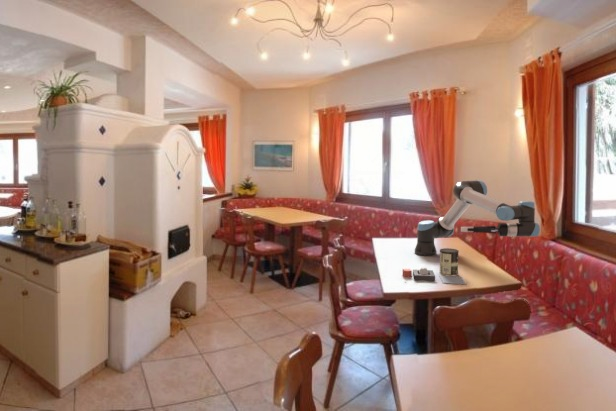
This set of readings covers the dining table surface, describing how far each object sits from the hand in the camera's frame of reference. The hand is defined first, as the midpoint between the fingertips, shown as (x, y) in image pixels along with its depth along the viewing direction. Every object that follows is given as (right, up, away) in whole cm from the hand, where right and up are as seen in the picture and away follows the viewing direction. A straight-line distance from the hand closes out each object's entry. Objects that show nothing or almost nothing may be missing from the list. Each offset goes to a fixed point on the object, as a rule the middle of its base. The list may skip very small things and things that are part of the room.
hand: (461, 229), depth 204 cm
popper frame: (-23, -27, -3) cm, 36 cm away
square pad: (-8, -28, -8) cm, 30 cm away
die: (-31, -27, +1) cm, 41 cm away
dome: (-23, -26, -3) cm, 35 cm away
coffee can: (-6, -27, +4) cm, 27 cm away
